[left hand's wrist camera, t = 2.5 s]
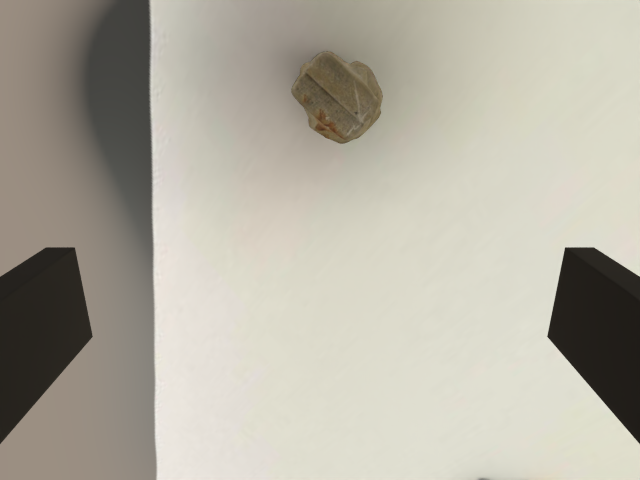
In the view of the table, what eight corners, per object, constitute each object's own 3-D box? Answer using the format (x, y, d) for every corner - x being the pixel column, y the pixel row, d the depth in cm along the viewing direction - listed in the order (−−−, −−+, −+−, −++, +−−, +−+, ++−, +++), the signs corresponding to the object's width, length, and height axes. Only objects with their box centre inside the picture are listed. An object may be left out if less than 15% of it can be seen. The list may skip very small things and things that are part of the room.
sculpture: (333, 39, 40) (341, 21, 26) (388, 101, 41) (423, 117, 27) (286, 88, 41) (269, 96, 27) (341, 146, 43) (351, 183, 29)
